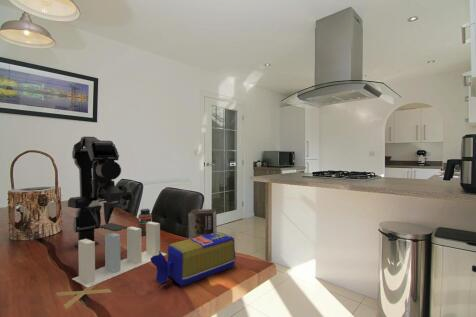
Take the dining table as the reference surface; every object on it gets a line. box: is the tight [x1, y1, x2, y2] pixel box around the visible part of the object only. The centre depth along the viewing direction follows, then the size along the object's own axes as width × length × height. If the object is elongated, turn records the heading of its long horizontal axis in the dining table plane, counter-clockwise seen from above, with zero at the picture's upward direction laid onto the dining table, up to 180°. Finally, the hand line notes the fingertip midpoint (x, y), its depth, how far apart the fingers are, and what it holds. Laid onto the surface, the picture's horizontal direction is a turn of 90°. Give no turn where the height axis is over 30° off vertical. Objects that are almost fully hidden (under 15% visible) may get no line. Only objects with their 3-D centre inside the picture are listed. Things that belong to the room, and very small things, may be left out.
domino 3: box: [126, 226, 143, 264], centre depth 83 cm, size 2×5×11 cm, turn 57°
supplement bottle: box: [137, 208, 153, 236], centre depth 116 cm, size 6×6×11 cm
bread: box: [150, 231, 237, 288], centre depth 76 cm, size 10×25×10 cm, turn 130°
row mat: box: [71, 250, 168, 288], centre depth 80 cm, size 9×27×1 cm, turn 147°
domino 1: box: [77, 239, 96, 284], centre depth 71 cm, size 2×5×11 cm, turn 57°
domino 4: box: [145, 221, 161, 256], centre depth 89 cm, size 2×5×11 cm, turn 57°
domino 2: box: [104, 231, 121, 273], centre depth 77 cm, size 2×5×11 cm, turn 56°
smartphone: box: [99, 222, 129, 232], centre depth 127 cm, size 7×1×15 cm
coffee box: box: [187, 208, 218, 239], centre depth 89 cm, size 9×6×16 cm
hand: (102, 224), depth 83 cm, fingers open, 2 cm apart
